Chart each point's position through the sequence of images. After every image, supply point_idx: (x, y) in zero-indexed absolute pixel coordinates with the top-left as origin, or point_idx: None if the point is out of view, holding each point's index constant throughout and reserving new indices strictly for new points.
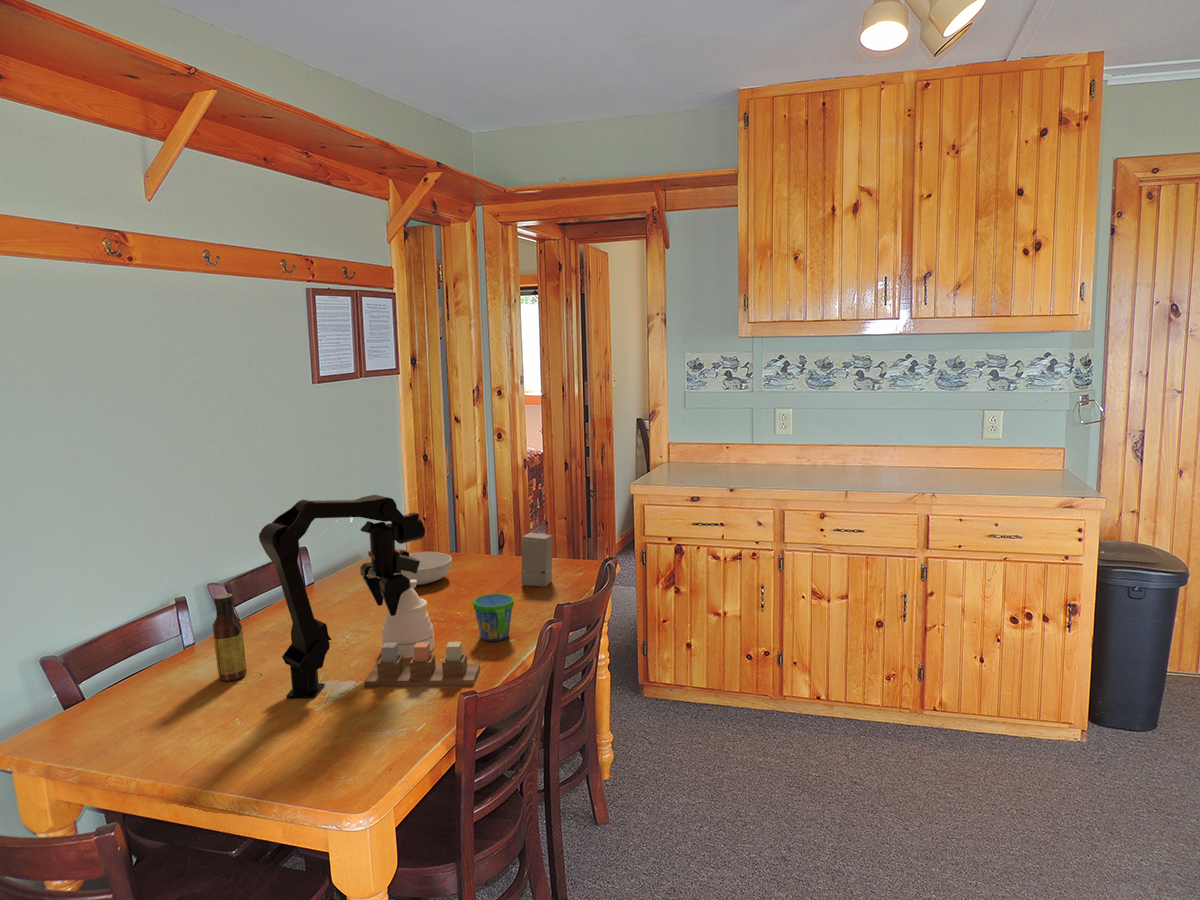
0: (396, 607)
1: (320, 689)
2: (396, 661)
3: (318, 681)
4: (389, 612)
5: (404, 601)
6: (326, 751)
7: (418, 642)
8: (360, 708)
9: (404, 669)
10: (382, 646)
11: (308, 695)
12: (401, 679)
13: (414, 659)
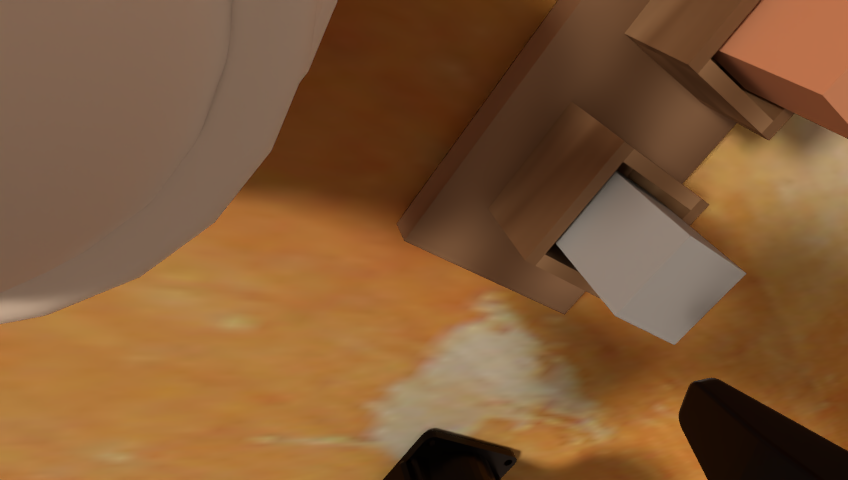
0: (844, 463)
1: (472, 444)
2: (649, 195)
3: (469, 476)
4: (713, 471)
5: (118, 139)
6: (841, 410)
7: (838, 82)
8: (715, 326)
9: (583, 102)
10: (661, 336)
11: (501, 474)
12: (688, 155)
13: (787, 108)
